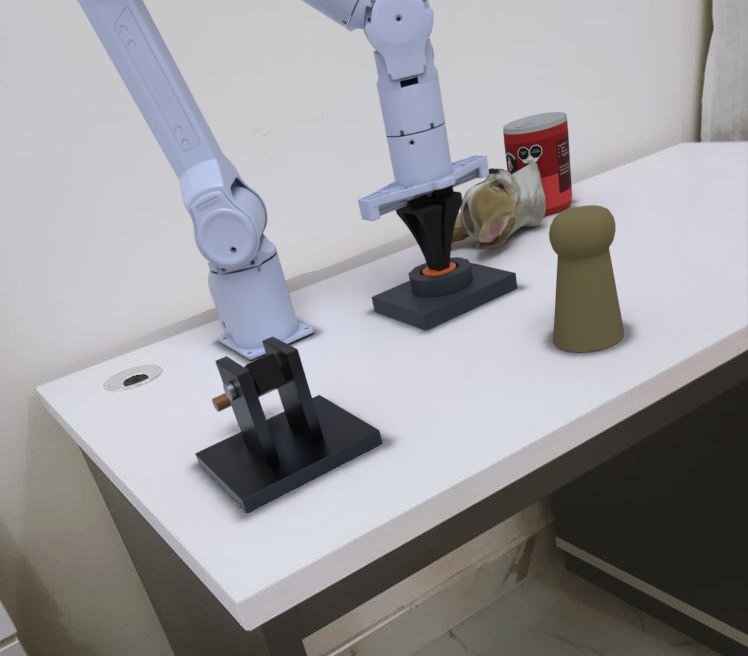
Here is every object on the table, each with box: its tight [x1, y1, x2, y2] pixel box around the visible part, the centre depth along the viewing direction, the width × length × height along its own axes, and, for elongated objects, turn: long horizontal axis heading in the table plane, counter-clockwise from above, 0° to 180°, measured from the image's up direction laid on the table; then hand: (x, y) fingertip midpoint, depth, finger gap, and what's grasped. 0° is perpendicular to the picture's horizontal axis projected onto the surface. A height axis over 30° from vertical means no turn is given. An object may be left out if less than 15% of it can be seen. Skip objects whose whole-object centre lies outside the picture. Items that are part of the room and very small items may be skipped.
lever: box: [211, 353, 287, 412], centre depth 60 cm, size 10×5×2 cm, turn 32°
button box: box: [371, 256, 518, 331], centre depth 80 cm, size 10×12×4 cm
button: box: [422, 262, 457, 276], centre depth 79 cm, size 4×4×2 cm
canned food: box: [502, 111, 573, 217], centre depth 98 cm, size 8×8×11 cm
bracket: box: [194, 336, 383, 514], centre depth 58 cm, size 10×12×9 cm
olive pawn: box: [548, 204, 625, 353], centre depth 63 cm, size 6×6×11 cm
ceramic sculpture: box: [452, 161, 546, 250], centre depth 92 cm, size 11×9×15 cm
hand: (439, 268), depth 79 cm, fingers closed, pressing on button
